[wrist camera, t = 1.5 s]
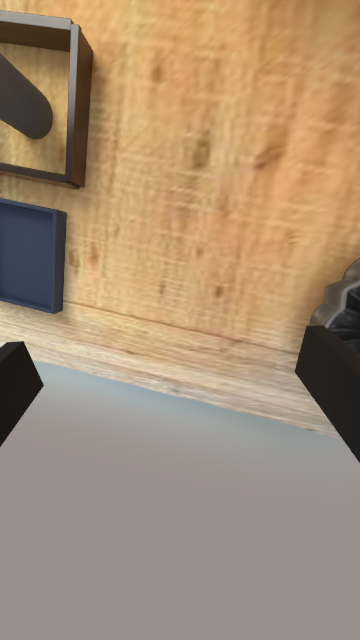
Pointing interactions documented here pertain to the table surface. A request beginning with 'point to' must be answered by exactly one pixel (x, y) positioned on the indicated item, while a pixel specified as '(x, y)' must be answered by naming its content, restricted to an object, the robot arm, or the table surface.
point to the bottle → (22, 103)
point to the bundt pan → (342, 308)
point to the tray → (32, 255)
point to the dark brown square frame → (71, 39)
